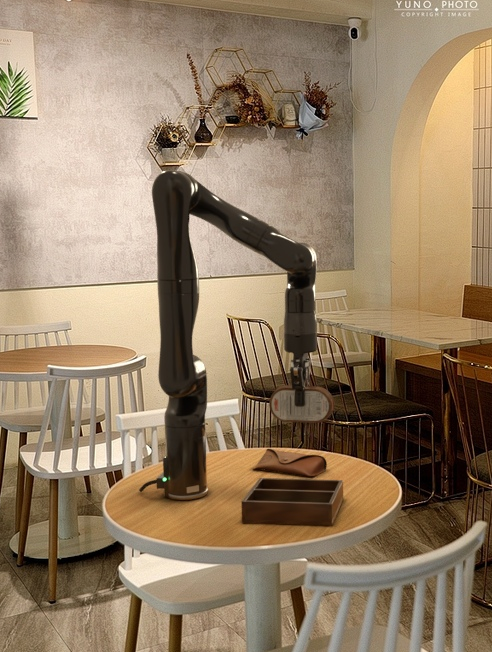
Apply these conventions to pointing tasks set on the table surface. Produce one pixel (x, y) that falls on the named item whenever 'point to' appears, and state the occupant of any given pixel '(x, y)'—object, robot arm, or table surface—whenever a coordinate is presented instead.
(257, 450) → the table surface
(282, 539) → the table surface
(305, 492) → the organizer
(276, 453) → the sunglasses case
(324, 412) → the tin
